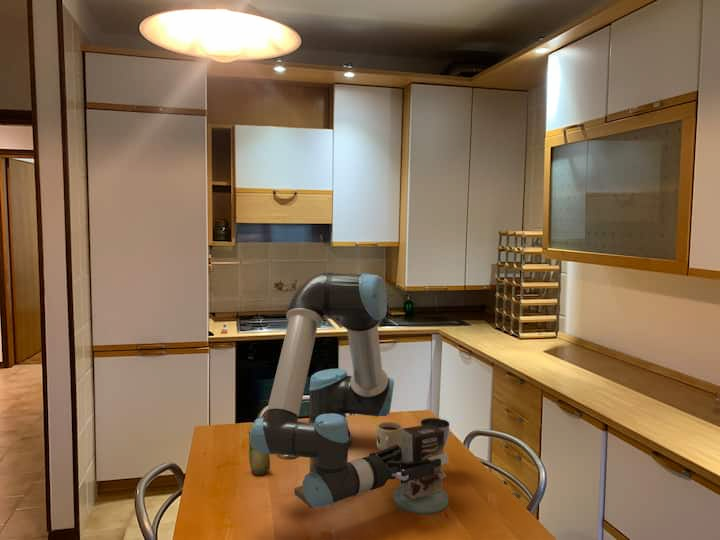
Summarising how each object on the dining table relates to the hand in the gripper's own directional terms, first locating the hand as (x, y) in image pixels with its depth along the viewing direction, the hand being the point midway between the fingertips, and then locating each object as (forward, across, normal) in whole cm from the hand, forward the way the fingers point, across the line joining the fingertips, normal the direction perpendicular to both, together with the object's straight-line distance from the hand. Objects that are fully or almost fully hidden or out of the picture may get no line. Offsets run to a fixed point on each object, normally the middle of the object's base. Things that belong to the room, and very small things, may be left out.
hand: (436, 452), depth 145 cm
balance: (-27, -17, -12) cm, 34 cm away
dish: (-5, 0, -12) cm, 13 cm away
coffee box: (-5, 0, -9) cm, 10 cm away
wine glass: (+8, -9, -12) cm, 17 cm away
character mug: (-1, -18, -12) cm, 21 cm away
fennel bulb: (-32, -37, -12) cm, 50 cm away
